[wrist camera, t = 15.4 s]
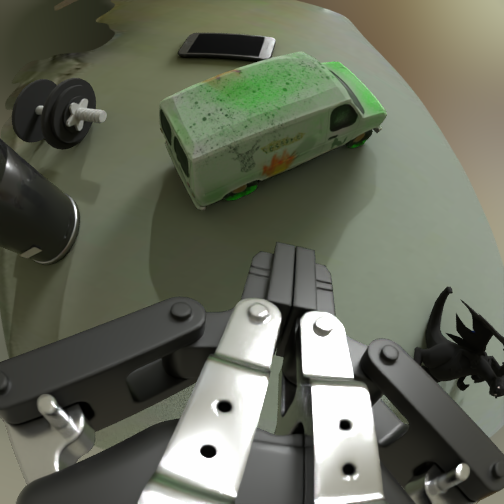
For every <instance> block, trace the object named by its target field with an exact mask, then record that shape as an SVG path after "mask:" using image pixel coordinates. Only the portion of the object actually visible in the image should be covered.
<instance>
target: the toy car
mask: <svg viewBox="0 0 504 504" xmlns="http://www.w3.org/2000/svg"><path fill="white" fill-rule="evenodd" d="M386 116H387V114H386V110H385V109H384V108H383V107H382V105H381V104H380V103H379V101H378V100H377V99H376V97H375V96H374V95H373V94H372V93H371V92H370V91H369V89H368V88H367V87H366V86H365V85H364V84H363V83H362V82H361V81H360V80H359V79H358V78H357V77H356V76H355V75H354V74H353V73H352V72H351V71H349V70H348V69H347V68H346V67H345V66H344V65H342V64H341V63H340V62H327V63H320V62H319V61H317V60H316V59H315V58H313V57H311V56H310V55H308V54H306V53H304V52H297V53H292V54H287V55H283V56H278V57H273V58H269V59H266V60H262V61H259V62H256V63H253V64H249V65H246V66H243V67H240V68H237V69H234V70H231V71H228V72H225V73H222V74H220V75H217V76H214V77H212V78H210V79H207V80H205V81H202V82H200V83H198V84H195V85H193V86H191V87H189V88H186V89H184V90H182V91H180V92H178V93H176V94H173V95H171V96H169V97H167V98H165V99H164V100H162V101H161V102H160V127H161V128H160V130H161V132H162V133H163V135H164V137H165V139H166V142H165V146H166V148H167V150H168V153H169V155H170V157H171V159H172V161H173V163H174V165H175V167H176V170H177V172H178V174H179V176H180V178H181V180H182V182H183V183H184V185H185V187H186V189H187V191H188V193H189V195H190V197H191V199H192V201H193V203H194V205H195V206H196V207H197V209H200V210H205V209H206V207H205V206H207V205H210V204H212V203H215V202H217V201H219V200H221V199H222V198H224V199H225V200H236V199H238V198H240V197H243V196H245V195H248V194H250V193H251V192H253V191H254V190H255V189H256V188H257V180H261V181H262V180H265V179H267V178H270V177H272V176H275V175H277V174H279V173H282V172H284V171H287V170H289V169H292V168H294V167H296V166H298V165H300V164H302V163H304V162H306V161H309V160H311V159H313V158H315V157H317V156H319V155H322V154H324V153H326V152H328V151H331V150H333V149H335V148H337V147H340V146H342V145H344V144H346V145H347V146H348V147H349V148H355V147H358V146H361V145H363V144H364V142H365V141H366V140H367V139H368V138H369V137H370V136H371V135H372V132H373V131H372V129H373V130H374V131H375V132H376V133H378V132H379V131H380V130H381V129H382V126H381V125H380V124H381V123H382V122H383V121H384V119H385V118H386ZM198 203H199V204H198ZM199 205H201V206H203V207H200V206H199Z"/></svg>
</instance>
